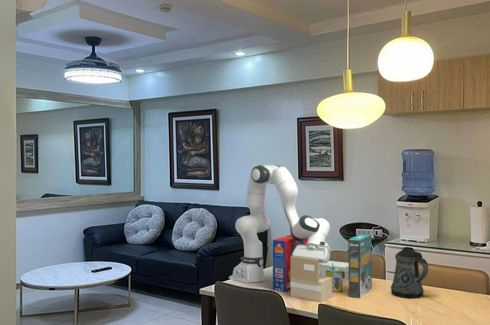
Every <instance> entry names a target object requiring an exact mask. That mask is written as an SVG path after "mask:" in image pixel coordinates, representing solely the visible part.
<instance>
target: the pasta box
mask: <svg viewBox="0 0 490 325" xmlns="http://www.w3.org/2000/svg"><path fill="white" fill-rule="evenodd" d="M308 239H309V237H308V238H307V239H306V240H305V241H302V242H300V241H296V240H295V239H294V238H293V237H292V236H291V234H289V235H285V236H282V237H281V236H280V237H279V238H275V239H272V291H276V292H280V293H287V292H291V286H290V282H291V256H292V254H293V252H294V250H295V248H296V246H297V245H300V244H307V241H308Z"/></svg>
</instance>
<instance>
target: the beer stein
mask: <svg viewBox="0 0 490 325" xmlns="http://www.w3.org/2000/svg"><path fill="white" fill-rule="evenodd" d="M394 257H395V260H396V262H395V270H394V275H393V280H392V283H391V286H390V291H391V294H392V296H394V297H397V298H400V299H401V298H402V299H408V300H409V299H420V298H422V297H423V295H424V292H425V291H424V288H423V285H422V281H423V280H424V279H425V278H426V277H427V275H428V273H429V264H428V261H427V260H426V258H423V255H422V253H421V252H420V251H419V252H418V251H416V250H415V249H414V247H410V246H404V247H403V248H402V249H401V250H400V251H398V252H397V253H395V255H394ZM419 265H421V267H422V272H420V267H419Z"/></svg>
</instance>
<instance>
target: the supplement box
mask: <svg viewBox="0 0 490 325" xmlns="http://www.w3.org/2000/svg"><path fill="white" fill-rule="evenodd" d="M332 263H333V266H334V268H342V279H343V283H348V282H349V262H343V261H334V260H329V261H328V262H327V263H319V275H321V276H326V268H333V266H332Z"/></svg>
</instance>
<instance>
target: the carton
mask: <svg viewBox="0 0 490 325" xmlns="http://www.w3.org/2000/svg"><path fill="white" fill-rule="evenodd" d="M290 286H291V290H290V297H293V298H298V299H302V300H308V301H313V302H319V303H323V302H324V301H326V300H328V299H330V298H332V297H333V292H332V278H331V277H327V276H321V275H320V274H319V282H315V281H309V280H302V279H296V278H291V282H290Z"/></svg>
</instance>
